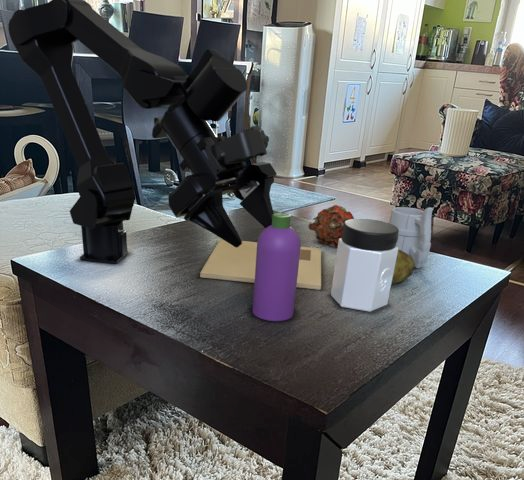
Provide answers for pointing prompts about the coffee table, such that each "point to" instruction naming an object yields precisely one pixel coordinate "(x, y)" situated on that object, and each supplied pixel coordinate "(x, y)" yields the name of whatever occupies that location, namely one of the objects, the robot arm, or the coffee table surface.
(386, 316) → the coffee table surface
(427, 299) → the coffee table surface
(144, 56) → the robot arm
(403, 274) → the potato
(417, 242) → the mug
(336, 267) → the jar
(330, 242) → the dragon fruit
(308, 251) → the cork mat
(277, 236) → the purple bottle
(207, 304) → the coffee table surface
